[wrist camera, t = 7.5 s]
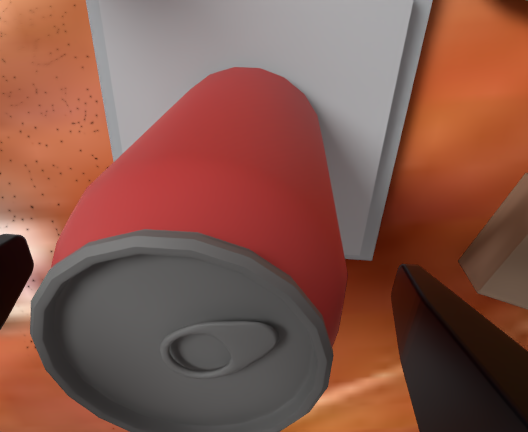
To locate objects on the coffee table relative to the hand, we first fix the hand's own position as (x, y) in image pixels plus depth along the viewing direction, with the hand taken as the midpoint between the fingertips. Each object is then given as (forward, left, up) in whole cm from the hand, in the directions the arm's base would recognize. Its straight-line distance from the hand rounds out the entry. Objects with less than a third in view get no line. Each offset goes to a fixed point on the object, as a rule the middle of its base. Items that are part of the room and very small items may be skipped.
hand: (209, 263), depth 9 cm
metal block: (-5, -15, -12) cm, 20 cm away
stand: (0, 0, -11) cm, 11 cm away
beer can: (0, 0, -10) cm, 10 cm away
